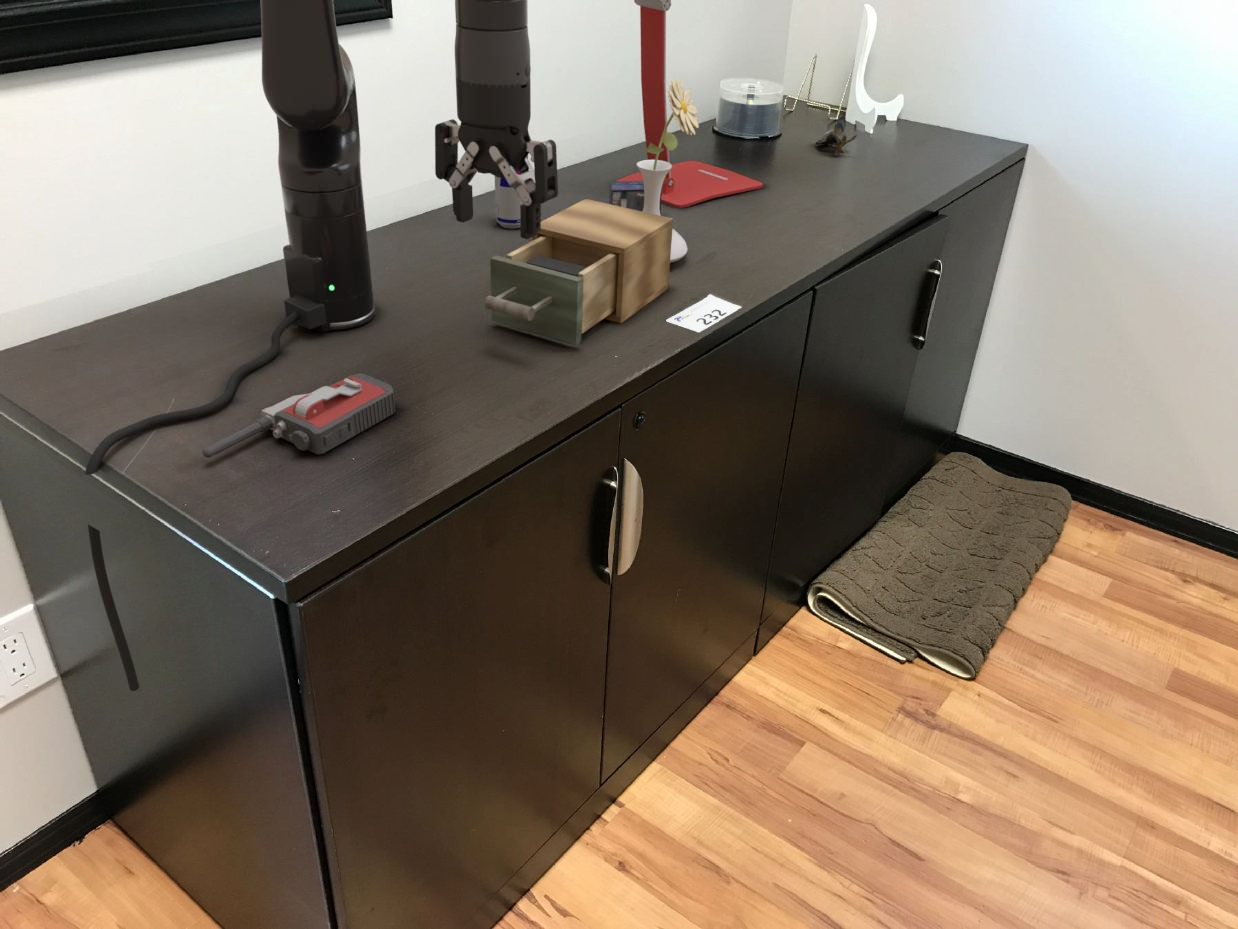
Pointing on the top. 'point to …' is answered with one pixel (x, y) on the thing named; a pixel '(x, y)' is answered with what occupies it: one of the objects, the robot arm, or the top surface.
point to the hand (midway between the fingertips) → (496, 228)
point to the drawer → (553, 289)
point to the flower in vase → (658, 169)
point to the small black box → (556, 265)
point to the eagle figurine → (836, 136)
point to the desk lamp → (685, 178)
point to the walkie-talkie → (321, 415)
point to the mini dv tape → (628, 194)
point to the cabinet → (620, 247)
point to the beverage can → (507, 203)
